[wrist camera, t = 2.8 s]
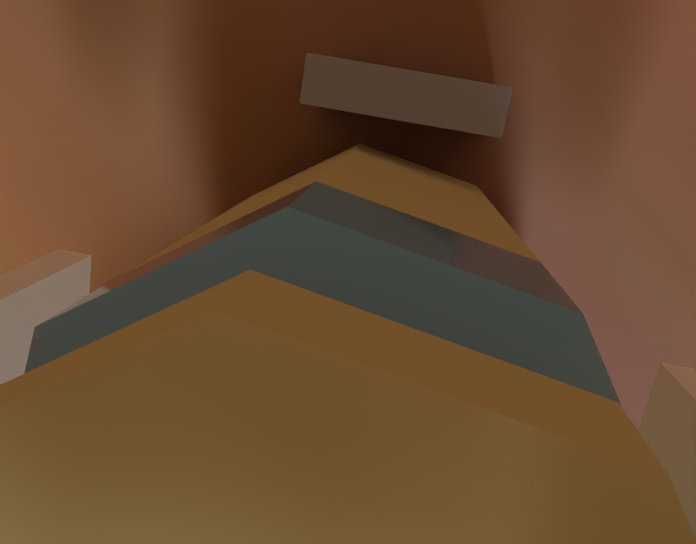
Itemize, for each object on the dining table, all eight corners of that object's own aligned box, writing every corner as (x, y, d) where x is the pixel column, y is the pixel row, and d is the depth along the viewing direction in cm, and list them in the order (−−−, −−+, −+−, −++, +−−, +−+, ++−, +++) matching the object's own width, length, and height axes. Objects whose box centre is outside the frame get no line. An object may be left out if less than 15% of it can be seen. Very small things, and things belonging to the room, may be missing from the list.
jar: (358, 74, 18) (172, -32, 4) (584, 285, 19) (1116, 836, 5) (167, 297, 21) (-398, 759, 6) (378, 476, 22) (319, 1240, 7)
